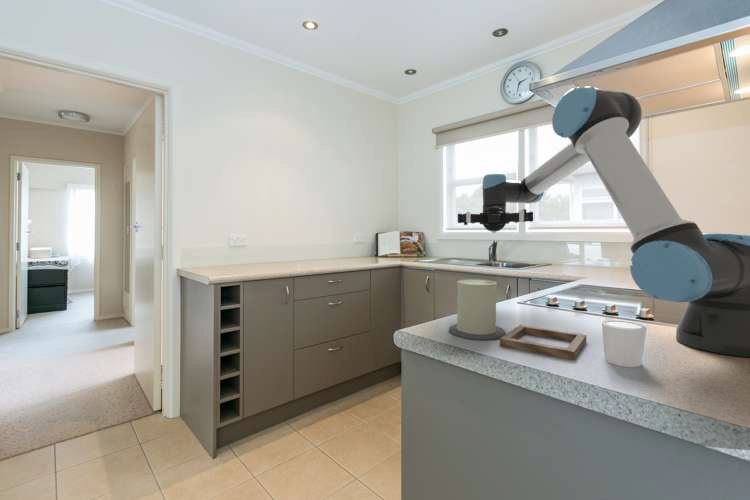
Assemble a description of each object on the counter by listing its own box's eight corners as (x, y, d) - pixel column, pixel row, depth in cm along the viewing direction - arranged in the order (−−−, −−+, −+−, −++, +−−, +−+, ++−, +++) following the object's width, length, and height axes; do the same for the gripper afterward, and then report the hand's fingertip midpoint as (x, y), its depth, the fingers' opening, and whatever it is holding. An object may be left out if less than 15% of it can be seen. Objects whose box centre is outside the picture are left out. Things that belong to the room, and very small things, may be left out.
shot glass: (653, 369, 64) (655, 330, 64) (611, 367, 66) (612, 328, 65) (632, 356, 71) (634, 320, 71) (594, 354, 72) (595, 319, 72)
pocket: (586, 341, 80) (586, 334, 80) (573, 360, 69) (574, 351, 69) (520, 331, 89) (520, 324, 89) (499, 345, 78) (499, 338, 78)
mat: (513, 330, 89) (513, 328, 89) (493, 343, 79) (493, 341, 79) (463, 322, 97) (463, 320, 97) (439, 333, 87) (439, 331, 87)
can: (498, 335, 83) (499, 283, 82) (457, 333, 85) (457, 282, 84) (494, 325, 92) (494, 277, 91) (456, 323, 94) (456, 277, 93)
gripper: (536, 230, 113) (546, 229, 92) (454, 231, 120) (446, 231, 100) (537, 206, 112) (546, 199, 92) (454, 208, 120) (446, 203, 100)
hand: (494, 216), depth 96 cm, fingers open, 13 cm apart
